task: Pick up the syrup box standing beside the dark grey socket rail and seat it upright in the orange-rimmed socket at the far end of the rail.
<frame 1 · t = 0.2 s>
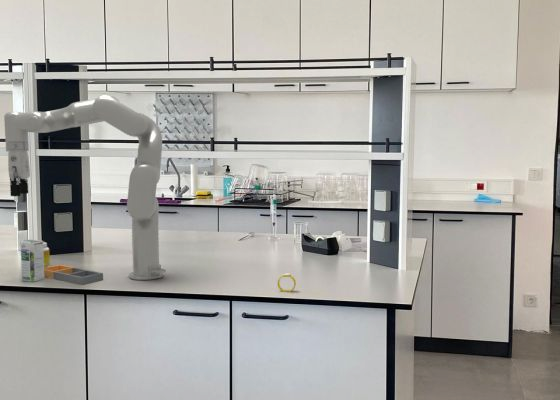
hand: (19, 194, 223), 31 cm above the countertop, tool pointing down, fingers open, 9 cm apart
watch: (286, 291, 207), on the countertop
socket rail: (70, 277, 228), on the countertop
supplement bottle: (42, 269, 243), on the countertop
syrup box: (33, 280, 225), on the countertop
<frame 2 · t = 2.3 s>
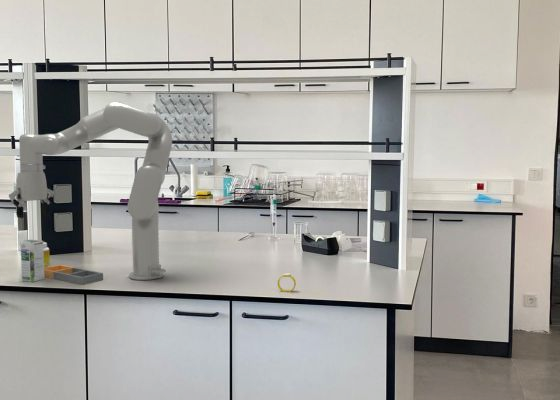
hand: (32, 216, 223), 23 cm above the countertop, tool pointing down, fingers open, 9 cm apart
nothing on the countertop moved.
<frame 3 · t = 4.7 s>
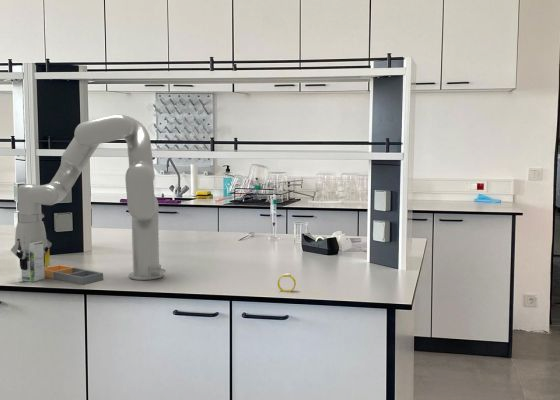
hand: (32, 267, 224), 5 cm above the countertop, tool pointing down, fingers closed on syrup box, 6 cm apart
syrup box: (33, 280, 225), on the countertop, touching gripper
everything else where it was.
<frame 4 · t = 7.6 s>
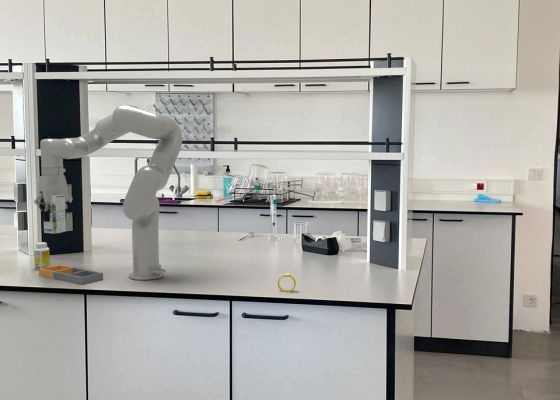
hand: (54, 219, 231), 21 cm above the countertop, tool pointing down, fingers closed on syrup box, 6 cm apart
syrup box: (55, 232, 231), point 16 cm above the countertop, touching gripper
everything else where it was.
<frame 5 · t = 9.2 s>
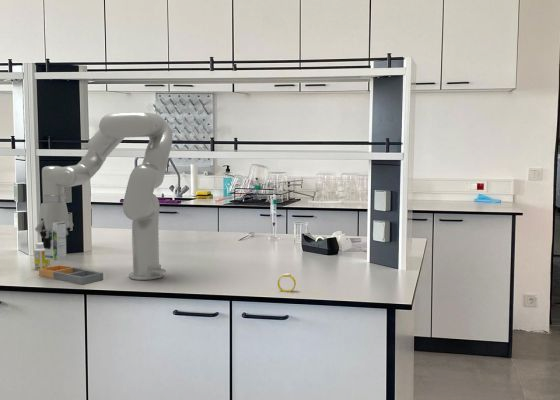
hand: (55, 246, 232), 11 cm above the countertop, tool pointing down, fingers closed on syrup box, 6 cm apart
syrup box: (55, 259, 232), point 6 cm above the countertop, touching gripper
everything else where it was.
when the fingers open (6 cm above the countertop, at t = 10.7 s): syrup box drops 1 cm, resting on socket rail.
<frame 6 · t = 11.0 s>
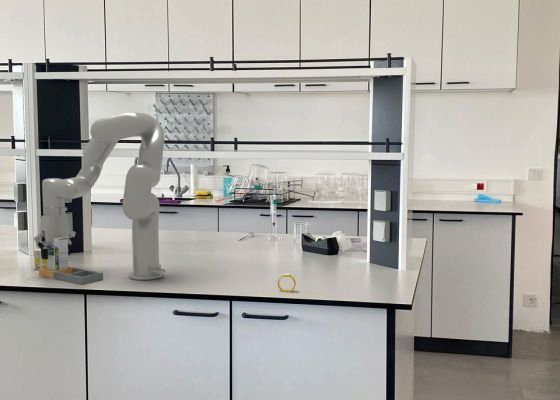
hand: (56, 256, 232), 7 cm above the countertop, tool pointing down, fingers open, 9 cm apart
syrup box: (58, 274, 233), resting on socket rail
everything else where it was.
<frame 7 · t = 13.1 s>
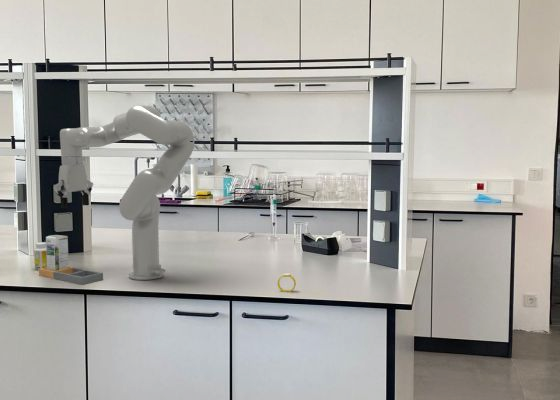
hand: (75, 206, 234), 25 cm above the countertop, tool pointing down, fingers open, 9 cm apart
nothing on the countertop moved.
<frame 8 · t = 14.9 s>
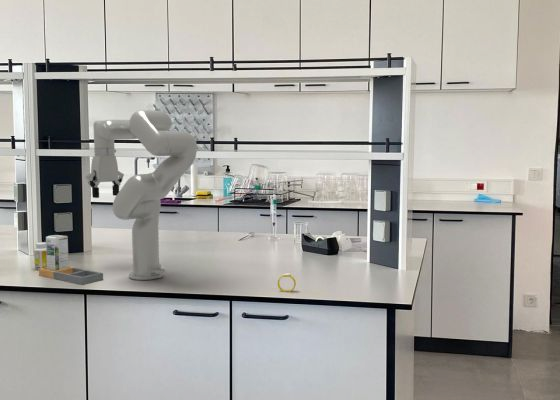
hand: (106, 196, 242), 28 cm above the countertop, tool pointing down, fingers open, 9 cm apart
nothing on the countertop moved.
at the end: syrup box 0.4 cm from the target spot on the socket rail, point 0.0 cm above the socket rail's base; syrup box tilted 0°; the gripper is holding nothing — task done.
